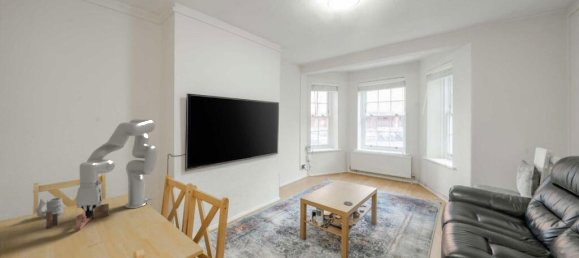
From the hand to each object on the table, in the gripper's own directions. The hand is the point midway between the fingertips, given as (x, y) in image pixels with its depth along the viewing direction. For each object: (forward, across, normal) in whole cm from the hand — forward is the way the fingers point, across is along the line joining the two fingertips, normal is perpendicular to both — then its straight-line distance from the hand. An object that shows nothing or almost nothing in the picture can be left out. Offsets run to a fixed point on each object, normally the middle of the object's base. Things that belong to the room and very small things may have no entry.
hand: (89, 216), depth 124 cm
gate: (+5, +4, -3) cm, 7 cm away
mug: (+6, +28, -21) cm, 36 cm away
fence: (+6, +9, -10) cm, 15 cm away
